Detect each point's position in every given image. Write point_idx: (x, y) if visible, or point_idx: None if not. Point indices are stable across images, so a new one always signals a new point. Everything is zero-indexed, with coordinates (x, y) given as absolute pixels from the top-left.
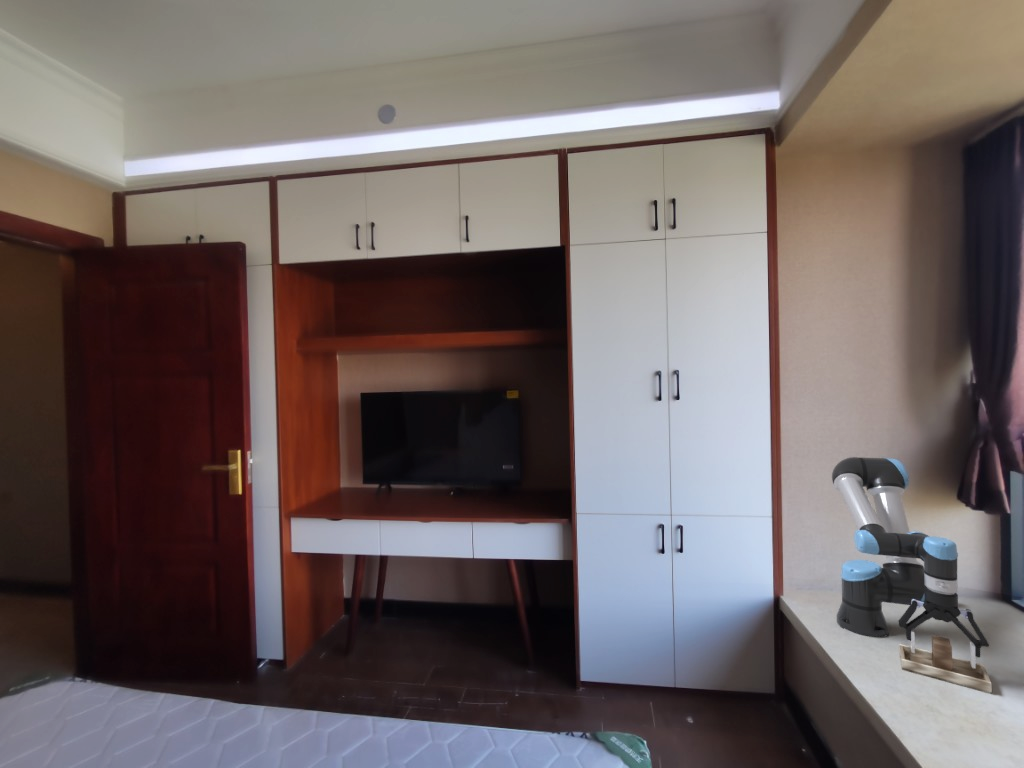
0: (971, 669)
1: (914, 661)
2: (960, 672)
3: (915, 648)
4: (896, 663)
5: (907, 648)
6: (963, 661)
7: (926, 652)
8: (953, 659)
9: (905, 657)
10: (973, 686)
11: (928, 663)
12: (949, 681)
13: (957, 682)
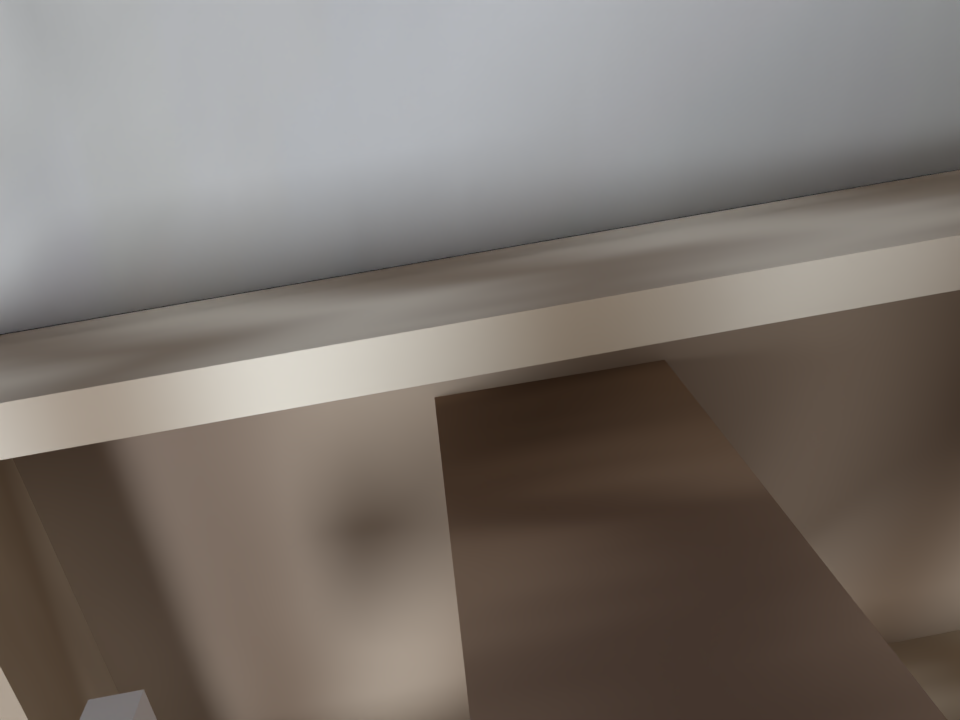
0: None
1: (213, 549)
2: (790, 418)
3: (136, 414)
4: None
5: (10, 447)
6: (941, 284)
7: (339, 389)
8: (781, 313)
9: (75, 524)
10: None
11: (390, 466)
12: None
13: None
